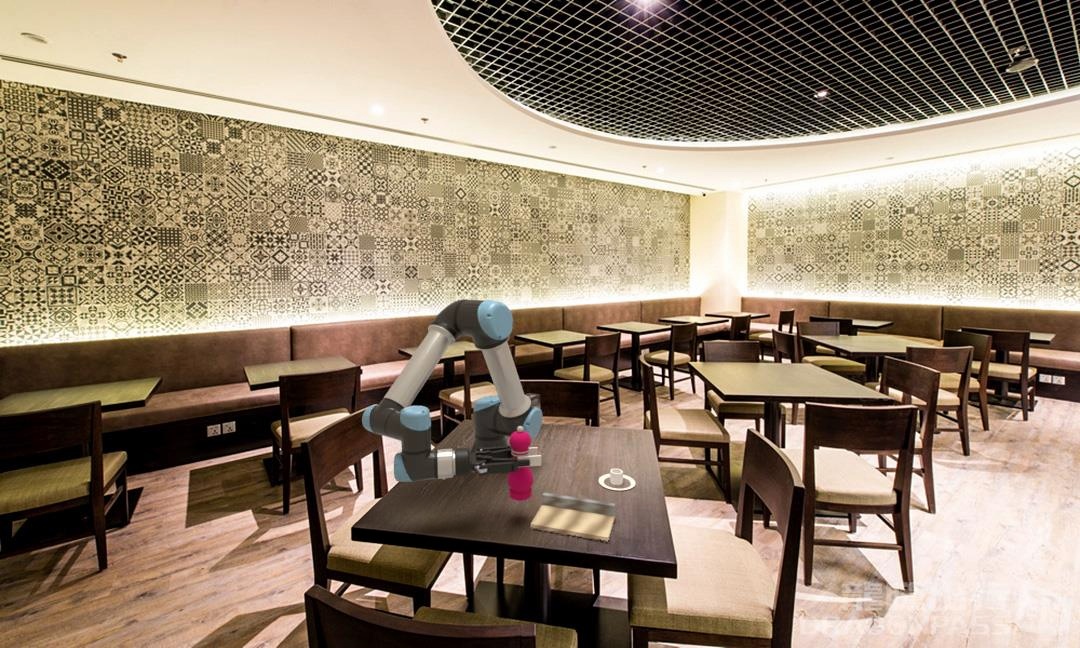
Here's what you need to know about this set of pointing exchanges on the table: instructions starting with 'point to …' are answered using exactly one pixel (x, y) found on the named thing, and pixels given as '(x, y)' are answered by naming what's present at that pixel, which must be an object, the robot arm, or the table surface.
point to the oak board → (575, 516)
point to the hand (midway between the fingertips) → (539, 455)
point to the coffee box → (534, 399)
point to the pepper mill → (523, 476)
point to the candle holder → (616, 479)
